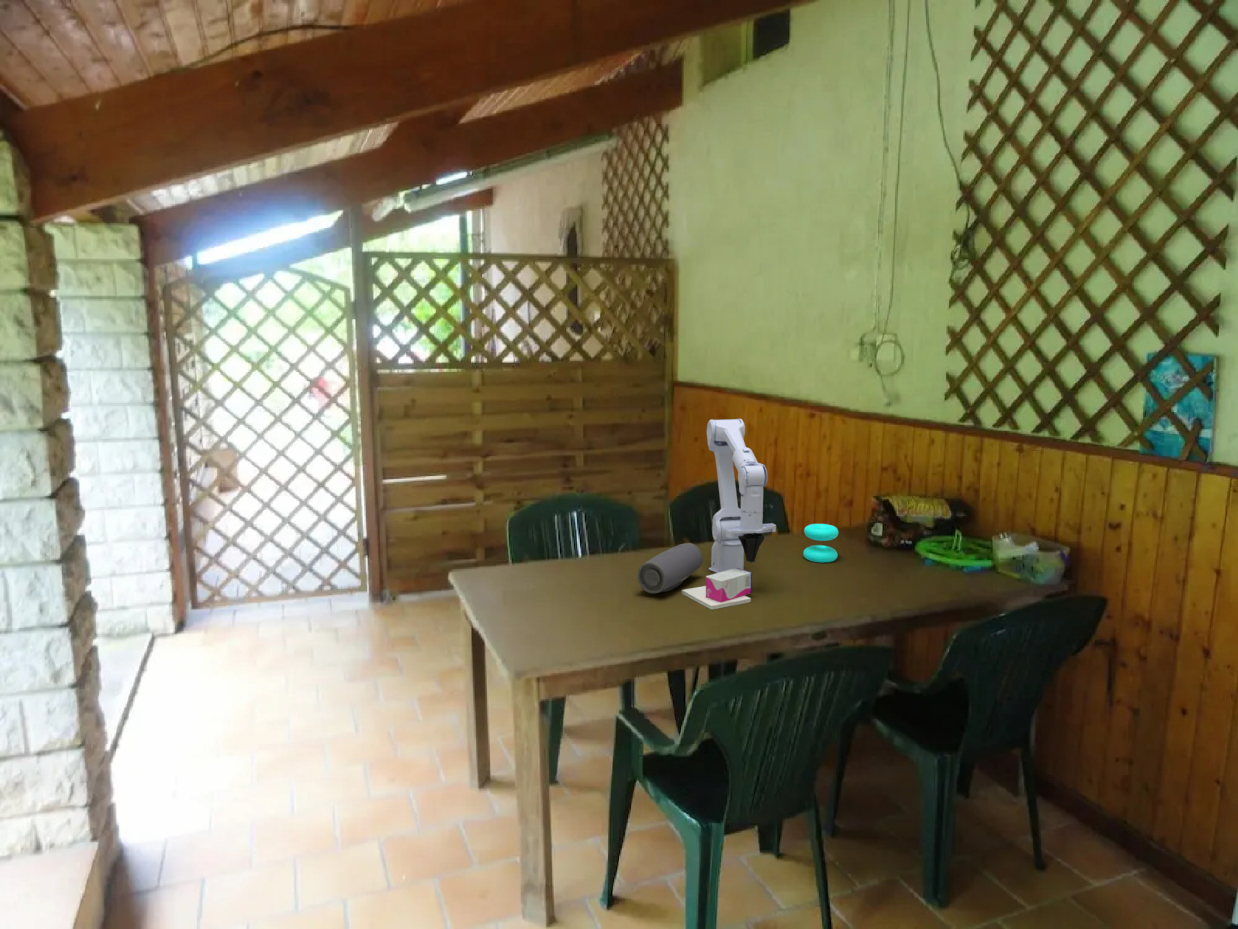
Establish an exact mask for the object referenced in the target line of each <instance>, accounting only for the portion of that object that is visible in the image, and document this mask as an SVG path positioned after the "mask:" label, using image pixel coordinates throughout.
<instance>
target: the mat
mask: <svg viewBox="0 0 1238 929" xmlns="http://www.w3.org/2000/svg"><path fill="white" fill-rule="evenodd" d="M681 594H682V595H684V596H686V597H687V598H689V599H691V600H692V601H694V602H696V603H698V604H700V605H702V606H703V607H705V608H707V609H709V610H717V609H723V608H729V607H733V606H738V605H744V604H747V603H751V601H752V598H751V597H749V596H747V595H744V596H740V597H737V598H734V599H731V600H727V601H724V602H719V601H716V600H714V599H711V598H708V597H706V585H703V586H697V587H692V588H685V589H682V590H681Z"/></svg>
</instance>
